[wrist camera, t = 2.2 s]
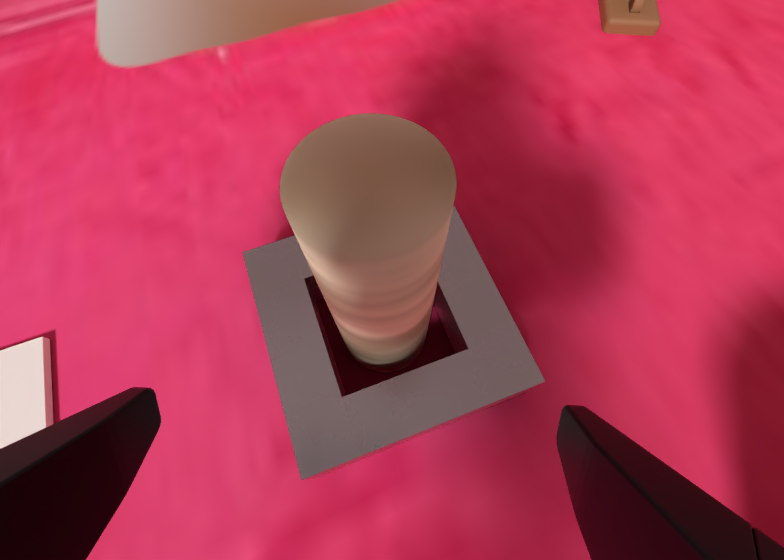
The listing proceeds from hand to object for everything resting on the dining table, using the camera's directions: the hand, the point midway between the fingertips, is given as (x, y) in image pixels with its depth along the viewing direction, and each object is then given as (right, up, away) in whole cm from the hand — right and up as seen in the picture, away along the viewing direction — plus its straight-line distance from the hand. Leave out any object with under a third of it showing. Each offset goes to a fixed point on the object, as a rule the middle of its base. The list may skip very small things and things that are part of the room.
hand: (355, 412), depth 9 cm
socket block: (0, 0, +13) cm, 13 cm away
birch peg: (0, 0, +13) cm, 13 cm away
